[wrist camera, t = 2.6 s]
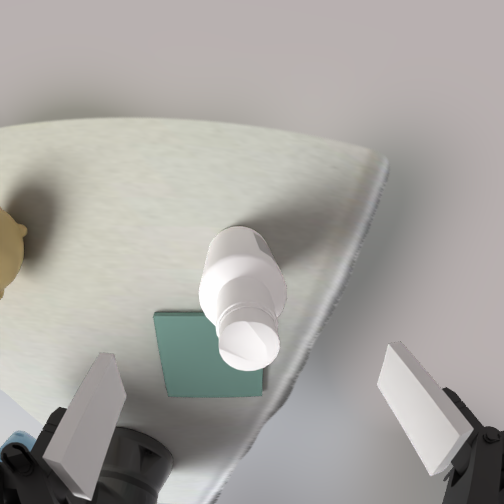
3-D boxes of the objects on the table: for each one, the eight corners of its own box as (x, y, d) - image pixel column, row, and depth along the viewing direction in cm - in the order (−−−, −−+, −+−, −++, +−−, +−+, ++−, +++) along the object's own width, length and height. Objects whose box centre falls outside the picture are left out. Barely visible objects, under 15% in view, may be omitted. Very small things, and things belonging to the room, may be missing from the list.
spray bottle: (240, 295, 34) (252, 407, 17) (194, 258, 33) (163, 351, 16) (281, 253, 33) (333, 339, 16) (236, 212, 32) (245, 265, 15)
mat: (261, 391, 39) (262, 395, 38) (169, 391, 38) (168, 396, 37) (263, 310, 35) (263, 314, 34) (155, 312, 34) (153, 315, 33)
